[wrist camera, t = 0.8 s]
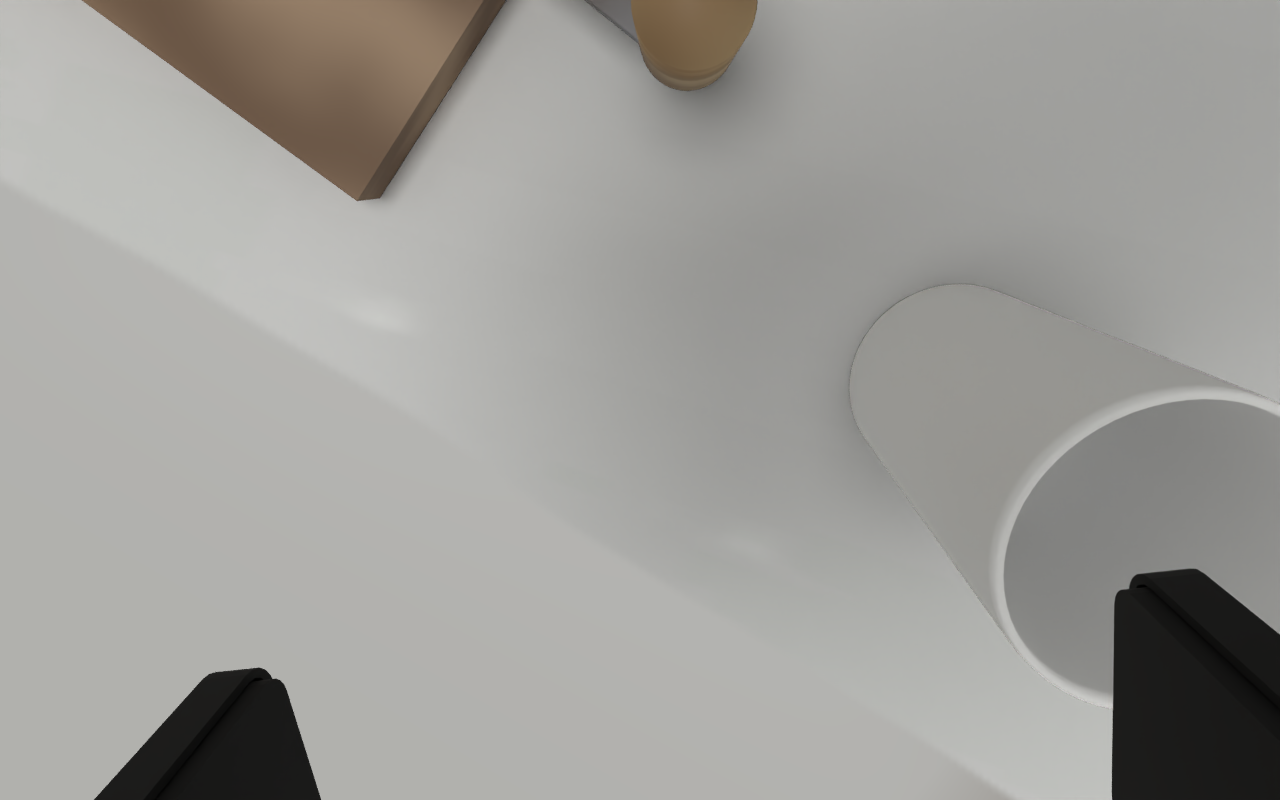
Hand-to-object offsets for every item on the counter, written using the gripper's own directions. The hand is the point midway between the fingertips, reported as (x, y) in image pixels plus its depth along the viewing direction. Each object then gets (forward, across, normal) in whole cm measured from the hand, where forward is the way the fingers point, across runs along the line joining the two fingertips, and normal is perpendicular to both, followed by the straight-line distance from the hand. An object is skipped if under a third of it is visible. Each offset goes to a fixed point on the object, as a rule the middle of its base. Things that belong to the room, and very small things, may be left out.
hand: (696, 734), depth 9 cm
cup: (+26, -10, +5) cm, 28 cm away
